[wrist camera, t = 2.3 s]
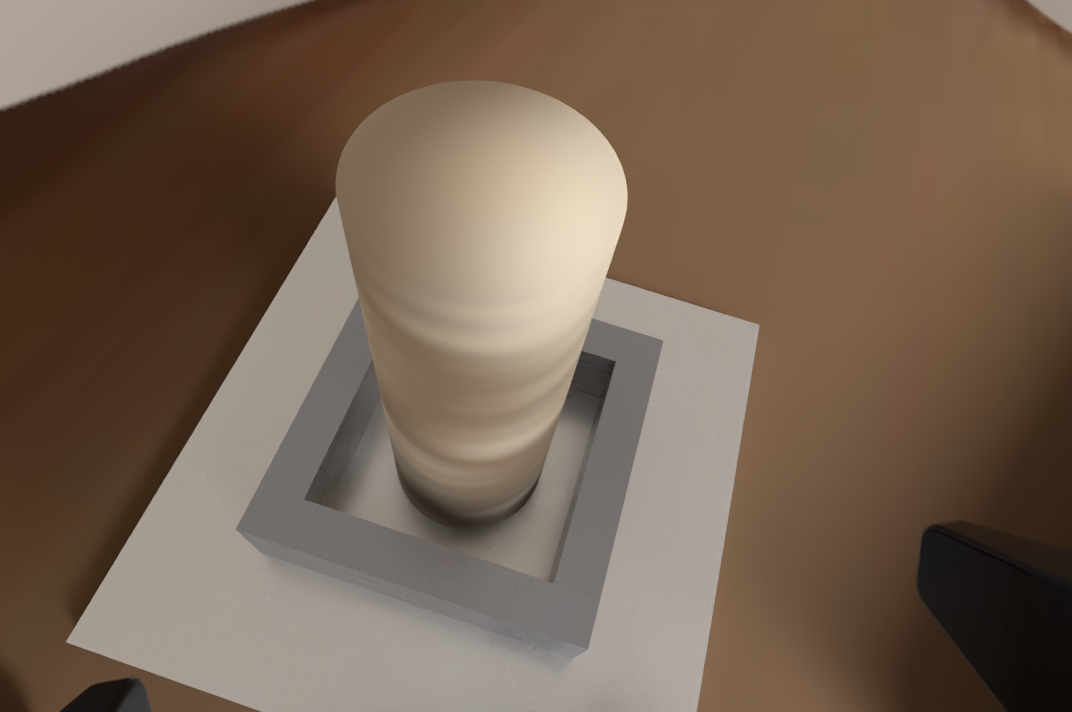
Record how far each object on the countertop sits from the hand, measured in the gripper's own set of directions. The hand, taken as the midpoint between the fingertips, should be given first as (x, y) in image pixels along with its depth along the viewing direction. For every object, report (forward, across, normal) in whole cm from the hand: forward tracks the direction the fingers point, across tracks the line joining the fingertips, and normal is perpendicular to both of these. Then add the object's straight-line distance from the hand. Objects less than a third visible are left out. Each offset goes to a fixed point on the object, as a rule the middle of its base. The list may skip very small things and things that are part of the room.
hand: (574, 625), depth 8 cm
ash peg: (+13, 0, +4) cm, 13 cm away
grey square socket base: (+14, 0, +4) cm, 14 cm away
